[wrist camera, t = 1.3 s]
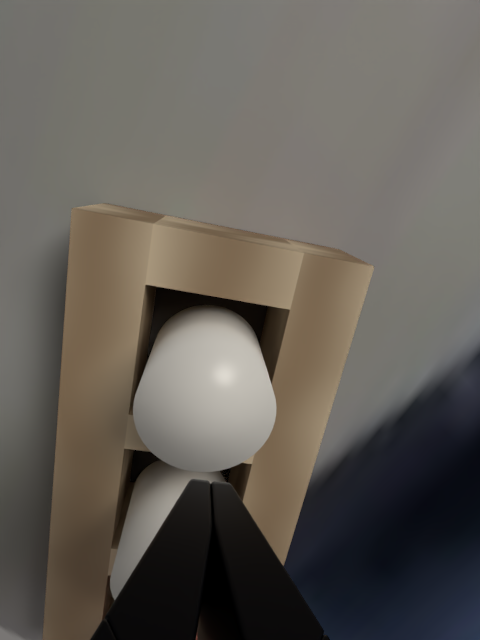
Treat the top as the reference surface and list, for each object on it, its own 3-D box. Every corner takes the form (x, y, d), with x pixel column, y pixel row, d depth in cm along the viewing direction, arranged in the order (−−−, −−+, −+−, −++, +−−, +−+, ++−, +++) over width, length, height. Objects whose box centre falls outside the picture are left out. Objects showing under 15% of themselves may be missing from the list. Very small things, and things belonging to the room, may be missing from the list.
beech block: (338, 249, 17) (374, 266, 14) (240, 610, 24) (245, 690, 20) (104, 203, 16) (71, 208, 12) (68, 598, 23) (39, 680, 19)
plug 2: (236, 461, 17) (243, 543, 13) (218, 535, 18) (221, 630, 14) (138, 449, 16) (116, 530, 12) (127, 527, 17) (104, 622, 13)
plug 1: (270, 314, 15) (290, 359, 11) (248, 409, 16) (259, 479, 12) (160, 296, 14) (142, 335, 10) (146, 395, 15) (125, 463, 11)
